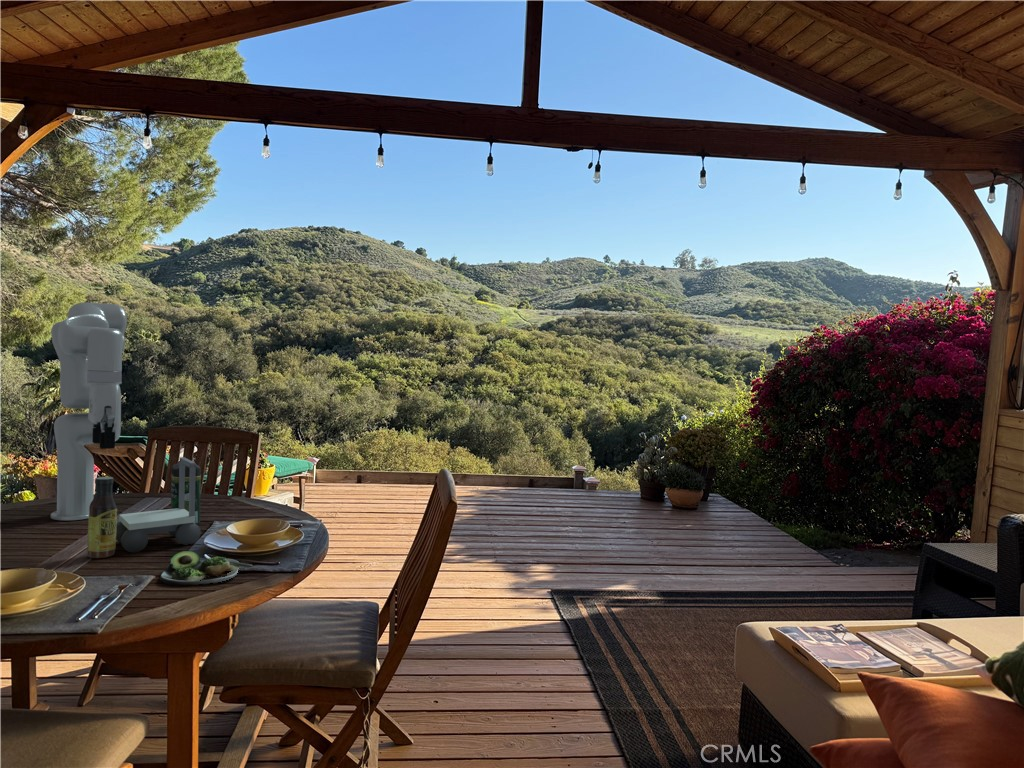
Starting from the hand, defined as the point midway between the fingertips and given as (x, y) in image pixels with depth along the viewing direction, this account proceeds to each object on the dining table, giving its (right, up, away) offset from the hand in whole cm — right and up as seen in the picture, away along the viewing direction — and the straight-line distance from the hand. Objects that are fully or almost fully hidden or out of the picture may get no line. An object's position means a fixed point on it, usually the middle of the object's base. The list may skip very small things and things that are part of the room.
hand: (103, 445), depth 175 cm
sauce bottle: (-1, -28, +1) cm, 28 cm away
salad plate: (+28, -30, -9) cm, 43 cm away
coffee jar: (+4, -27, +35) cm, 45 cm away
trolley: (+6, -28, +14) cm, 32 cm away
